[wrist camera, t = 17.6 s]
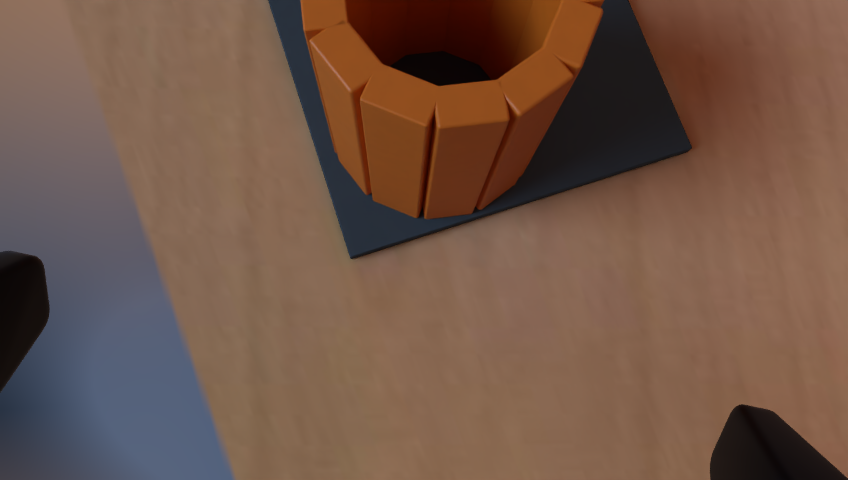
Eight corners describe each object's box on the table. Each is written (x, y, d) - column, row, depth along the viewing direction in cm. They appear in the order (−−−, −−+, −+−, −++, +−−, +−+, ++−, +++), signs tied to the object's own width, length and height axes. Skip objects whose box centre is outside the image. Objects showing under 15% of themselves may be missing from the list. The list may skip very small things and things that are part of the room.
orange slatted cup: (492, 249, 23) (541, 172, 15) (298, 171, 23) (247, 55, 15) (563, 70, 24) (642, -86, 16) (380, -2, 25) (372, -188, 17)
